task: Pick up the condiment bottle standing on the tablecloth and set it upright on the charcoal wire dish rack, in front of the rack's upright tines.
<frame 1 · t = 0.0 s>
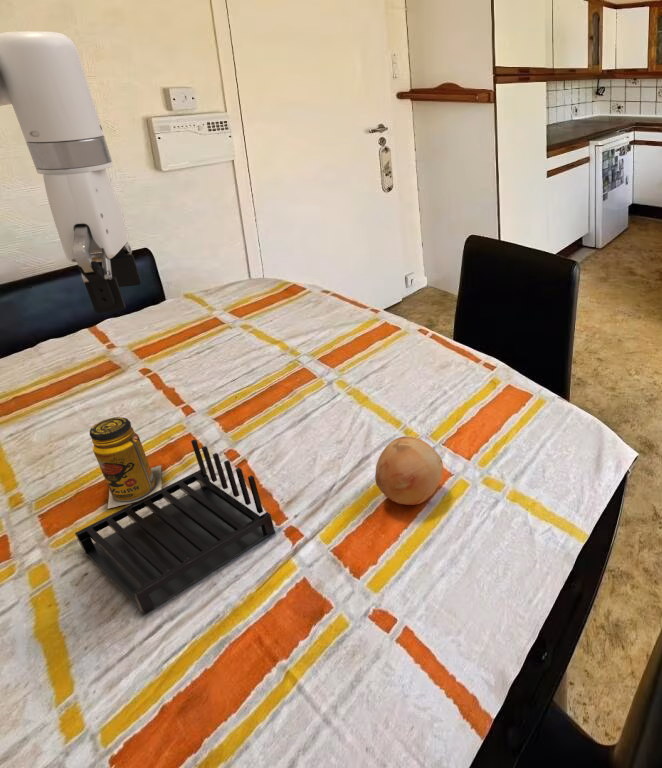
hand: (120, 297, 79), 32 cm above the table, tool pointing down, fingers open, 9 cm apart
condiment: (136, 488, 97), on the table
dish rack: (180, 542, 86), on the table
onion: (412, 498, 94), on the table
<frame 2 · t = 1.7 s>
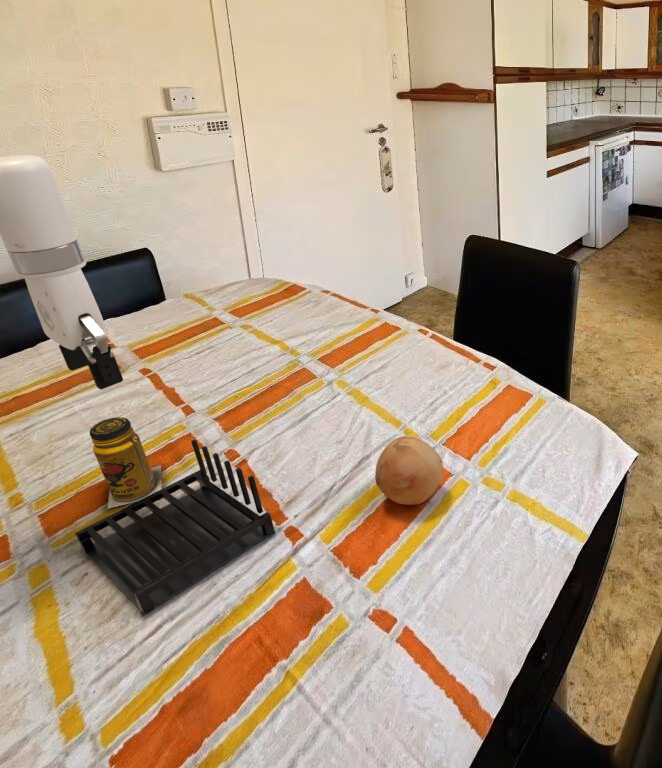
hand: (95, 375, 88), 20 cm above the table, tool pointing down, fingers open, 9 cm apart
nothing on the table moved.
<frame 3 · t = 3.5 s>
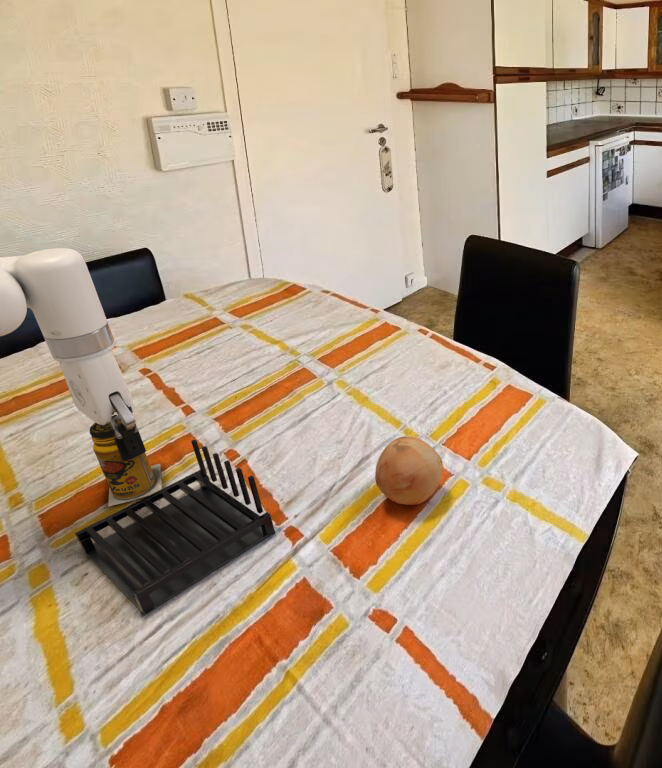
hand: (124, 447, 94), 7 cm above the table, tool pointing down, fingers closed on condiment, 6 cm apart
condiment: (136, 486, 98), on the table, touching gripper
everything else where it was.
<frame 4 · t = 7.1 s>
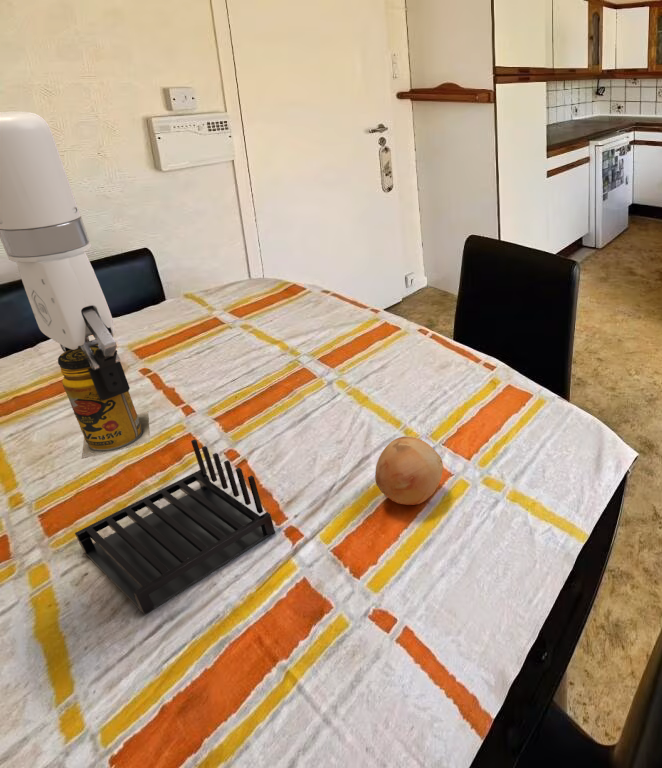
hand: (102, 385, 75), 25 cm above the table, tool pointing down, fingers closed on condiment, 6 cm apart
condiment: (118, 436, 79), point 17 cm above the table, touching gripper
everything else where it was.
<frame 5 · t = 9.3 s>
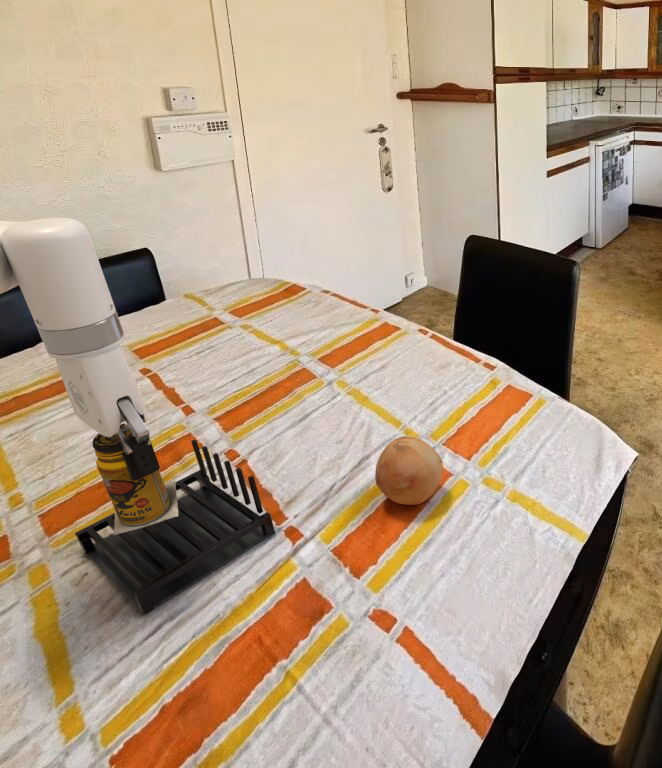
hand: (133, 463, 78), 14 cm above the table, tool pointing down, fingers closed on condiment, 6 cm apart
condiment: (147, 509, 82), point 7 cm above the table, touching gripper
everything else where it was.
when the fingers open (11 cm above the table, at t = 10.7 s): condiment stays where it is, resting on dish rack.
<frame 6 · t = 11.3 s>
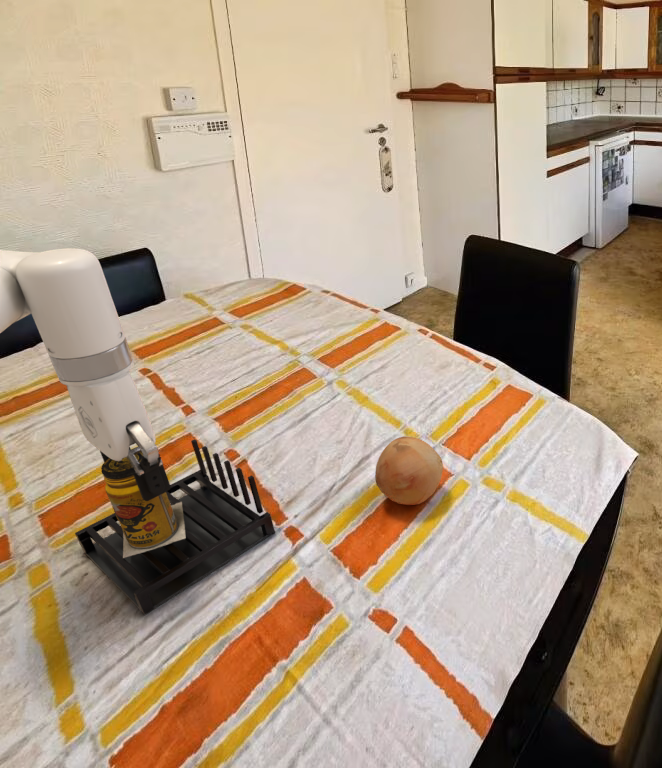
hand: (139, 480, 79), 12 cm above the table, tool pointing down, fingers open, 9 cm apart
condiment: (155, 531, 84), point 3 cm above the table, touching dish rack
everything else where it was.
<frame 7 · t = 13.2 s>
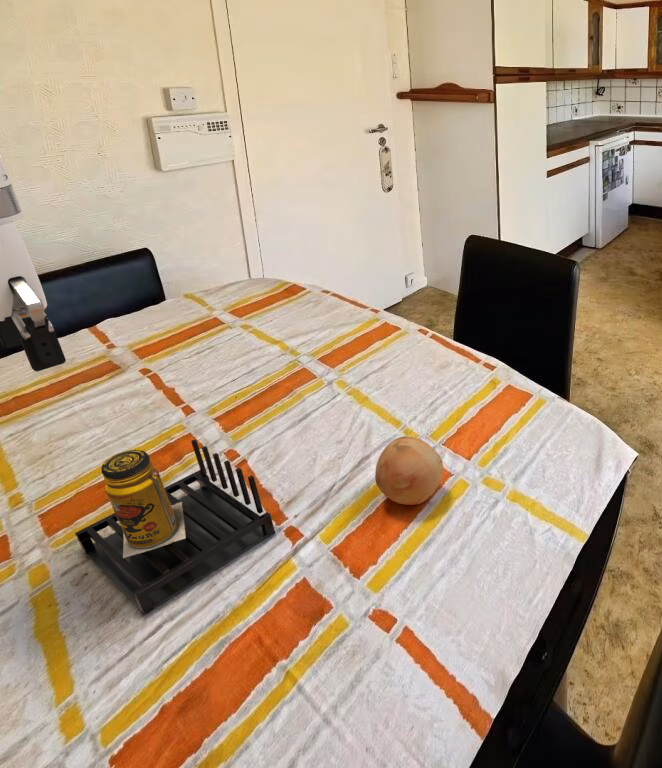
hand: (34, 355, 73), 29 cm above the table, tool pointing down, fingers open, 9 cm apart
nothing on the table moved.
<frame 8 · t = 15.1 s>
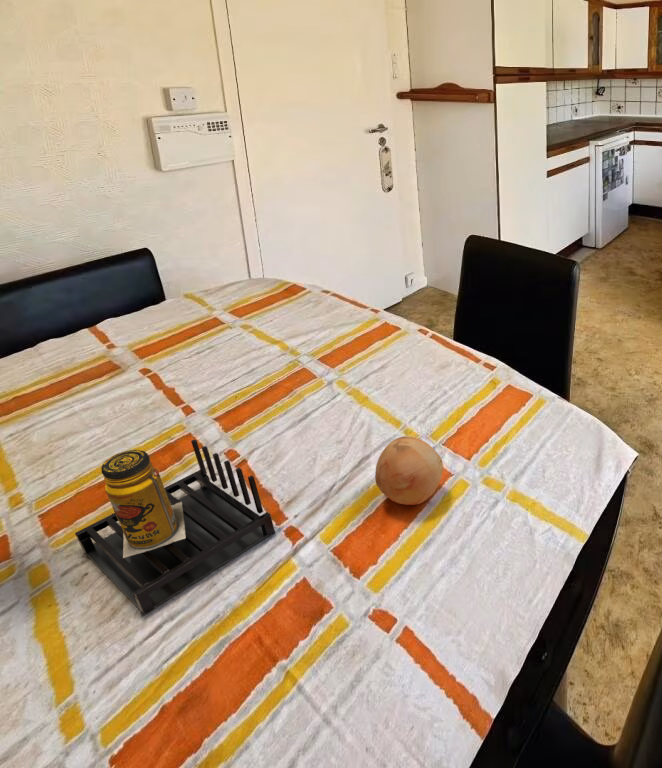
nothing on the table moved.
at the end: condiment inside the target area on the dish rack (0.8 cm from its centre), point 3.2 cm above the dish rack's base; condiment tilted 0°; the gripper is holding nothing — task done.
